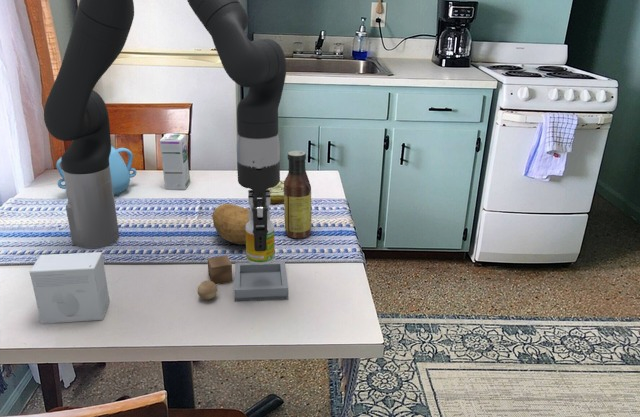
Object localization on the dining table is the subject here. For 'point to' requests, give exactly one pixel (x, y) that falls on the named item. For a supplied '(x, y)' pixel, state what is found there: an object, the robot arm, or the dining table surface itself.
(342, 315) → the dining table surface
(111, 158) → the decorative pot
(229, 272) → the walnut block
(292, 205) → the sauce bottle
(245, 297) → the tray
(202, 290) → the cork ball
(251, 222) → the supplement bottle
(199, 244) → the dining table surface
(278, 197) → the decorated donut
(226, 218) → the potato
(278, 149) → the robot arm
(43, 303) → the skincare box
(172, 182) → the syrup box
